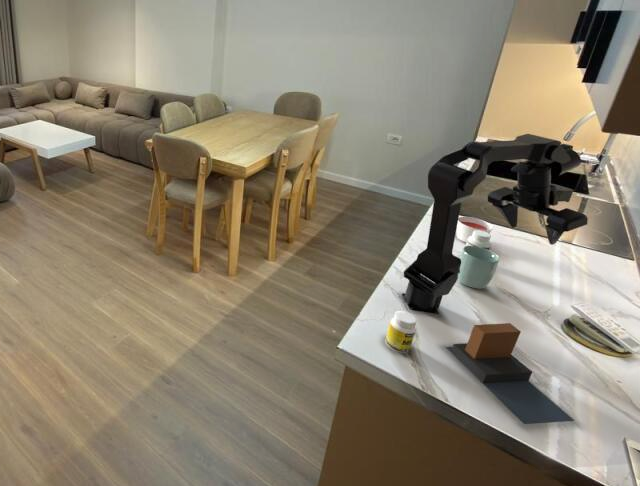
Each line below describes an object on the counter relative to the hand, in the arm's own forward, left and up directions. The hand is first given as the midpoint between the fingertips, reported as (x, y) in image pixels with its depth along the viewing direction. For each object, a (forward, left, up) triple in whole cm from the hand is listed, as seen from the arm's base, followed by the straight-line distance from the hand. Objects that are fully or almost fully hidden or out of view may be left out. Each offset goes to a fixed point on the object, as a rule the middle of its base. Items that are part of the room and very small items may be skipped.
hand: (532, 235), depth 102 cm
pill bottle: (-3, +13, -17) cm, 22 cm away
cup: (-9, 0, -17) cm, 20 cm away
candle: (+2, +27, -17) cm, 32 cm away
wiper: (-20, -32, -17) cm, 41 cm away
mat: (-18, -36, -17) cm, 44 cm away
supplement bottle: (-36, -31, -17) cm, 51 cm away
